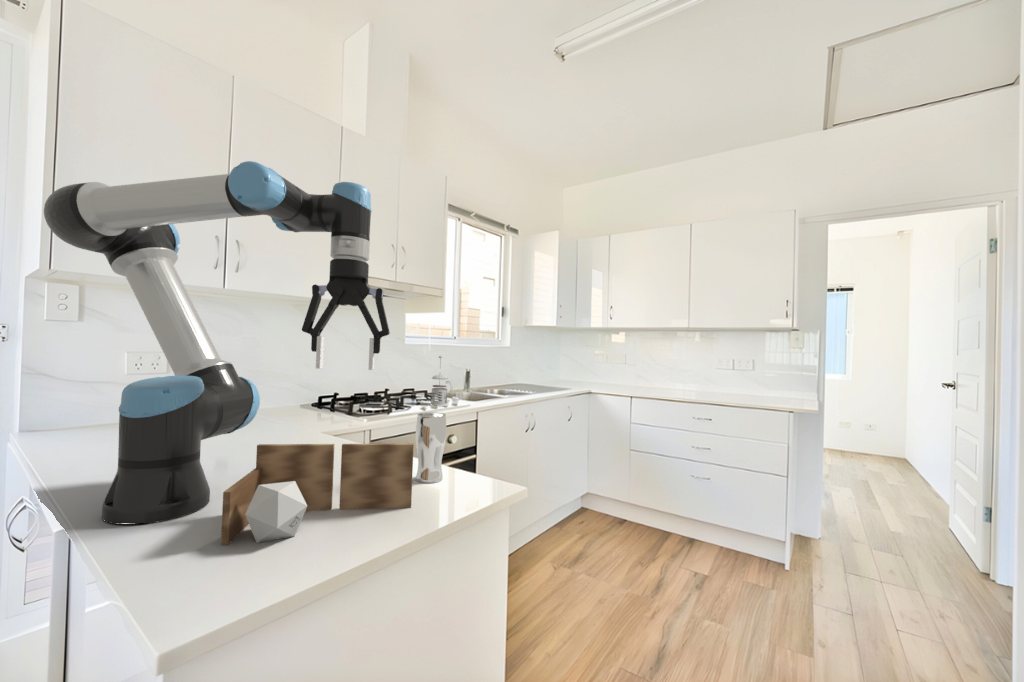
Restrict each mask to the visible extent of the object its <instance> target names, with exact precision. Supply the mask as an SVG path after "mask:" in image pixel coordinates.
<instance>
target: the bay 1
mask: <svg viewBox="0 0 1024 682" xmlns="http://www.w3.org/2000/svg"><path fill="white" fill-rule="evenodd" d="M255 461H256V462H255V468H253V469H252V470H251V471H250V472H247V474H246V475H244V476H243V477H242V478H241V479H239V480H237V481H236V482H235V483H233V484H232V485H230V487H228V488H227V489H225V490H224V491H223V492H222V508H221V509H222V511H221V512H222V515H221V534H220V535H221V537H220V538H221V539H220V546H229V545H230V544H231V543H232V542H233V541H234V540H235V539H236V538H237V537H238V536H239V535H240V534H241V532H243V530H245V529H246V528H247V526H248V525H249V523H248V520H247V518H246V515H245V514H246V512H247V509H248V507H249V505H250V503H251V501H252V498H253V496H254V494H255V492H256V489H257V487H258V485H263V484H272V483H281V482H290V481H295V482H296V484H297V486H298V488H299V490H300V492H301V494H302V496H303V498H304V500H305V502H306V504H307V508H306V511H305V512H309V511H310V512H311V511H315V512H318V511H331V510H332V508H333V491H334V490H333V489H334V488H333V487H334V486H333V485H334V465H335V464H334V463H335V443H297V444H296V443H280V444H279V443H277V444H273V443H269V444H268V443H267V444H266V443H262V444H260V443H259V444H257V445H256V460H255Z"/></svg>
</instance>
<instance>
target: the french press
mask: <svg viewBox="0 0 1024 682" xmlns="http://www.w3.org/2000/svg"><path fill="white" fill-rule="evenodd" d="M438 358H439V359H440V360H439V364H440V365H439V368H441V364H442V359H443V356H442V355H439V356H438ZM448 378H449V377H447V376H446V375H444V374H441V373H438V374H436V375H433V376H432V377H431V379H432V380H446V381H445V384H444V385H443V384H441V383H440V382H441V381H439V384H432V387H433V388H431V399H430V400H431V402H430V403H429V404H432V405H437V406H436V407H447V406H449V404H448V396H449V395H451V394H452V392H453V390H452V389H450V391H449V392H448V388H447V384H449V386H450V387H452V386H453V384H452V383H451V382H450V381H449V380H448Z"/></svg>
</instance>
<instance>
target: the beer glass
mask: <svg viewBox="0 0 1024 682" xmlns="http://www.w3.org/2000/svg"><path fill="white" fill-rule="evenodd" d="M446 438H447V414H446V413H445V412H444V413H443V412H438V411H434V412H433V411H430V412H428V411H426V412H420V413H417V416H416V424H415V444H416V446H415V447H416V453H417V461H418V462H417V465H418V466H417V471H416V474H415V475H416V476H415V480H416V481H417V482H419V483H421V484H422V483H423V484H436V483H439V482H441V481H442V480H443V478H444V476H443V469H442V462H443V461H442V460H443V455H444V452H445V451H444V449H445V446H446Z"/></svg>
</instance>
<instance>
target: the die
mask: <svg viewBox="0 0 1024 682" xmlns="http://www.w3.org/2000/svg"><path fill="white" fill-rule="evenodd" d="M306 508H307V504H306V502H305V500H304V498H303V496H302V494H301V492H300V490H299V488H298V486H297V484H296V482H295V481H290V482H281V483H272V484H263V485H258V487H257V489H256V492H255V494H254V496H253V498H252V501H251V503H250V505H249V507H248V509H247V512H246V514H245V515H246V518H247V520H248V523H249V524H248V525H249V528H250V530H251V532H252V535H253V538H254V540H255V543H257V544H258V543H264V542H268V541H274V540H279V539H287V538H292V537H295V536H296V533H297V531H298V530H299V526H300V524H301V522H302V520H303V517H304V516H305V512H307V511H306Z"/></svg>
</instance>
